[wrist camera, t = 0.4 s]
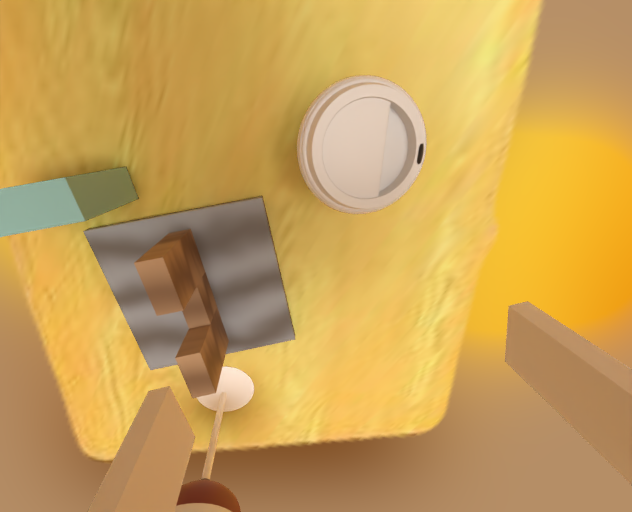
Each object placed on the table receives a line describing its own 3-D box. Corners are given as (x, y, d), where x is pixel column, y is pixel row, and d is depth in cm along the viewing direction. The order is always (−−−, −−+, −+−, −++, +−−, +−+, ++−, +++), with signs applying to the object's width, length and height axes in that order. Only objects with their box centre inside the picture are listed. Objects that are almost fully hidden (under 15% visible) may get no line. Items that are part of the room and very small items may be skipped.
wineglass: (189, 363, 42) (99, 592, 21) (261, 366, 44) (246, 581, 22) (188, 412, 45) (109, 654, 24) (255, 413, 47) (237, 641, 26)
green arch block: (40, 182, 32) (-58, 199, 22) (126, 166, 32) (64, 177, 23) (56, 213, 33) (-30, 242, 24) (138, 198, 33) (85, 220, 24)
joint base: (88, 228, 34) (17, 262, 25) (262, 196, 35) (256, 216, 26) (153, 365, 41) (117, 429, 32) (294, 334, 42) (299, 389, 33)
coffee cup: (349, 202, 36) (393, 240, 23) (276, 167, 34) (275, 186, 20) (388, 125, 34) (465, 114, 20) (312, 81, 31) (340, 35, 17)
